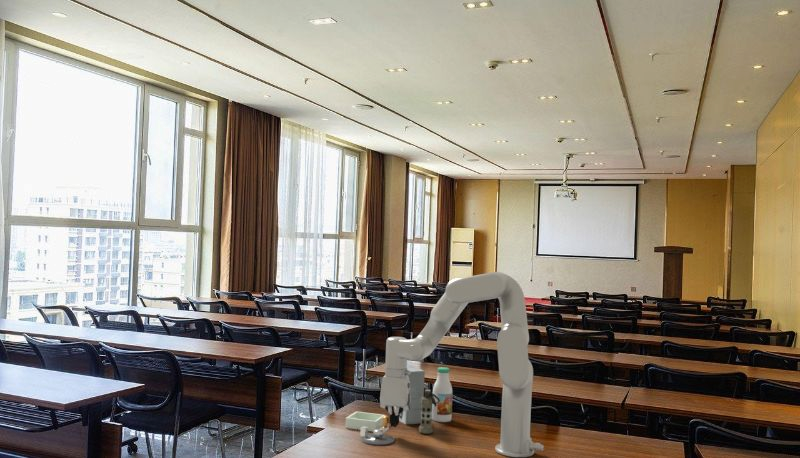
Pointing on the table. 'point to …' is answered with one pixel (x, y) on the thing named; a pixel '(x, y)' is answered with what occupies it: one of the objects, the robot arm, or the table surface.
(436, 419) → the milk bottle
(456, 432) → the table surface
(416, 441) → the table surface
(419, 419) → the hard drive box
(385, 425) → the crank lever
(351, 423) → the tray
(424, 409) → the grenade model
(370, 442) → the crank base
